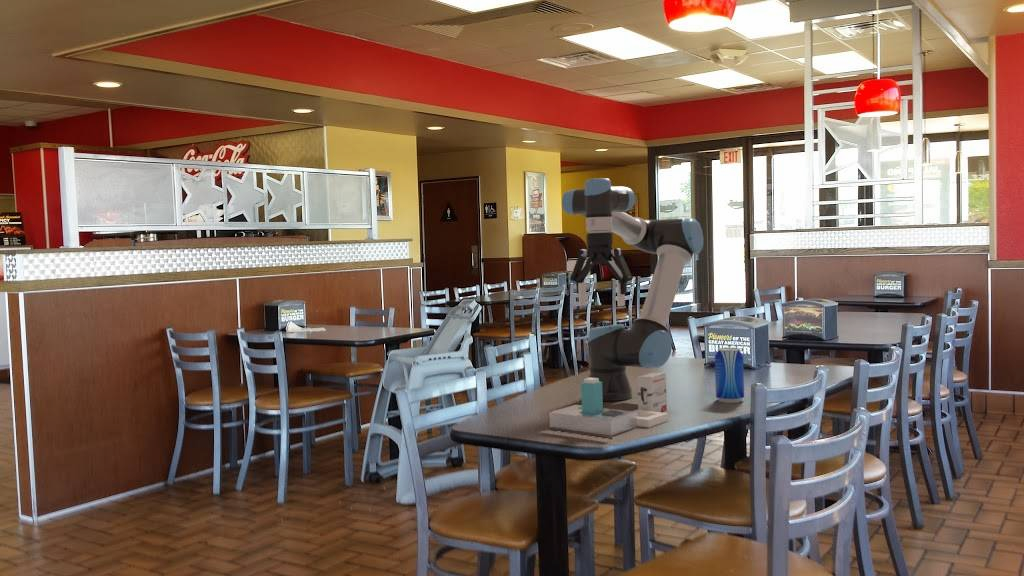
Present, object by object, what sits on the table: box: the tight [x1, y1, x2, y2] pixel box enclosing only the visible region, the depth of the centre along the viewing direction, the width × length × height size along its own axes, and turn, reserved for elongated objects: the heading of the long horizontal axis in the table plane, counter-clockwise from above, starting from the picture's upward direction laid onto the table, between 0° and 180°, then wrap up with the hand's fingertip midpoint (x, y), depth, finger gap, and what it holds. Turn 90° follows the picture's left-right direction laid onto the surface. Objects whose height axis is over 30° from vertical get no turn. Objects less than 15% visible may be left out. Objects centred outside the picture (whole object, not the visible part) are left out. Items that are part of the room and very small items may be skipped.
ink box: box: [636, 372, 668, 413], centre depth 249 cm, size 9×5×12 cm, turn 141°
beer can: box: [714, 347, 745, 404], centre depth 266 cm, size 8×8×16 cm
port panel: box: [548, 404, 638, 440], centre depth 233 cm, size 20×12×6 cm, turn 49°
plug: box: [580, 377, 604, 415], centre depth 232 cm, size 4×4×13 cm
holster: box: [632, 409, 669, 429], centre depth 237 cm, size 10×10×3 cm
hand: (601, 305), depth 253 cm, fingers open, 13 cm apart
